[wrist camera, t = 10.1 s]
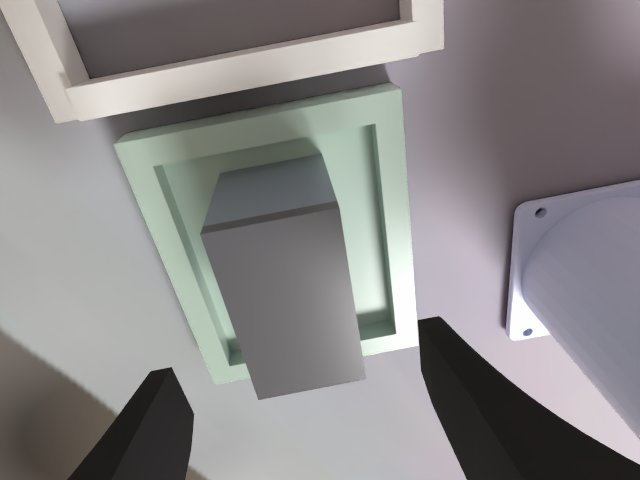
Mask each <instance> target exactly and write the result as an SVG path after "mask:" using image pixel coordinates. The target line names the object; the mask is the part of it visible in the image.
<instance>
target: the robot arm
mask: <svg viewBox="0 0 640 480" xmlns="http://www.w3.org/2000/svg"><path fill="white" fill-rule="evenodd" d="M539 208H542V209H541V211H540V212H539V213H538V214H535V213H536V211H537V210H538V209H539ZM418 329H419V345H420V360H421V372H422V375H423V378H424V381H425V384H426V387H427V390H428V393H429V396H430V399H431V402H432V404H433V407H434V409H435V411H436V413H437V416H438V418H439V420H440V422H441V424H442V426H443V429H444V431H445V433H446V435H447V437H448V440H449V442H450V444H451V446H452V448H453V450H454V453H455V455H456V457H457V459H458V461H459V463H460V466H461V468H462V470H463V472H464V474H465V476H466V479H467V480H640V465H639V464H637V463H636V462H634V461H632V460H630V459H628V458H626V457H624V456H623V455H621V454H619V453H617V452H616V451H614V450H612V449H611V448H609V447H607V446H605V445H604V444H602V443H600V442H599V441H597V440H595V439H593V438H592V437H590V436H588V435H586V434H585V433H583V432H582V431H580V430H578V429H577V428H575V427H574V426H572V425H571V424H569V423H568V422H566V421H565V420H563V419H561V418H560V417H558V416H557V415H555V414H554V413H553V412H551V411H550V410H548V409H547V408H545V407H544V406H542V405H541V404H540V403H538V402H537V401H536V400H534V399H533V398H531V397H530V396H529V395H527V394H526V393H525V392H524V391H522V390H521V389H520V388H518V387H517V386H516V385H515V384H513V383H512V382H511V381H510V380H508V379H507V378H506V377H505V376H503V375H502V374H501V373H500V372H499V371H497V370H496V369H495V368H494V367H493V366H492V365H491V364H489V363H488V362H487V361H486V360H485V359H484V358H483V357H481V356H480V355H479V354H478V353H477V352H476V351H475V350H474V349H473V348H472V347H471V346H469V345H468V344H467V343H466V342H465V341H464V340H463V339H462V338H461V337H460V336H459V335H458V334H457V333H456V332H455V331H454V330H453V329H452V328H451V327H450V326H449V325H448V324H447V323H446V322H445V321H444V320H443V319H442V318H441V317H439V316H437V317H432V318H427V319H422V320H418ZM526 329H527V330H526ZM524 330H525V331H524ZM506 334H507V336H508V337H509V338H510V339H511V340H513V341H518V340H523V339H528V338H533V337H539V336H544V335H549V334H551V335H552V336H553V337H554V339H555V340H556V341H557V342H558V343H559V345H560V346H561V347H562V348H563V349H564V350H565V352H566V353H567V354H568V355H569V356H570V358H571V359H572V360H573V361H574V362H575V364H576V365H577V366H578V367H579V368H580V369H581V371H582V372H583V373H584V374H585V375H586V377H587V378H588V379H589V380H590V381H591V382H592V384H593V385H594V386H595V387H596V388H597V390H598V391H599V392H600V393H601V394H602V396H603V397H604V398H605V399H606V400H607V401H608V403H609V404H610V405H611V406H612V407H613V409H614V410H615V411H616V412H617V413H618V415H619V416H620V417H621V418H622V419H623V420H624V422H625V423H626V424H627V425H628V426H629V428H630V429H631V430H632V431H633V432H634V433H635V435H636V436H637V437H638V438H639V439H640V180H636V181H631V182H626V183H620V184H615V185H610V186H605V187H600V188H594V189H589V190H584V191H579V192H574V193H569V194H563V195H558V196H553V197H548V198H543V199H538V200H532V201H527V202H524V203H522V204H520V205H519V206H518V207H517V209H516V210H515V214H514V227H513V240H512V254H511V267H510V281H509V294H508V307H507V321H506ZM193 421H194V413H193V411H192V409H191V407H190V404H189V402H188V400H187V398H186V396H185V394H184V392H183V390H182V388H181V386H180V384H179V382H178V380H177V378H176V375H175V373H174V371H173V369H172V367H171V368H165V369H160V370H155V371H151V372H150V373H149V374H148V376H147V377H146V378H145V380H144V381H143V382H142V384H141V385H140V387H139V388H138V389H137V391H136V392H135V393H134V395H133V396H132V397H131V399H130V400H129V402H128V403H127V404H126V406H125V407H124V408H123V410H122V411H121V412H120V414H119V415H118V417H117V418H116V419H115V421H114V422H113V423H112V425H111V426H110V427H109V428H108V430H107V431H106V432H105V434H104V435H103V436H102V438H101V439H100V440H99V442H98V443H97V444H96V445H95V447H94V448H93V449H92V450H91V451H90V453H89V454H88V455H87V456H86V458H85V459H84V460H83V461H82V463H81V464H80V465H79V466H78V467H77V469H76V470H75V471H74V472H73V474H72V475H71V476H70V477H69V478H68V480H185V477H186V472H187V467H188V462H189V457H190V452H191V445H192V434H193Z"/></svg>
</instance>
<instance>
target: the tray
mask: <svg viewBox="0 0 640 480" xmlns="http://www.w3.org/2000/svg"><path fill="white" fill-rule="evenodd" d="M113 145H114V148H115V150H116V152H117V155H118V157H119V159H120V162H121V164H122V167H123V169H124V171H125V174H126V176H127V178H128V181H129V183H130V186H131V188H132V190H133V193H134V195H135V197H136V200H137V202H138V204H139V207H140V209H141V212H142V214H143V216H144V219H145V221H146V223H147V226H148V228H149V230H150V233H151V235H152V238H153V240H154V242H155V245H156V247H157V249H158V252H159V254H160V257H161V259H162V261H163V264H164V266H165V268H166V271H167V273H168V275H169V278H170V280H171V283H172V285H173V287H174V290H175V292H176V294H177V297H178V299H179V301H180V304H181V306H182V309H183V311H184V313H185V316H186V318H187V320H188V323H189V325H190V328H191V330H192V332H193V335H194V337H195V339H196V342H197V344H198V346H199V349H200V351H201V354H202V356H203V358H204V361H205V363H206V365H207V368H208V370H209V372H210V375H211V377H212V380H213V382H214V384H215V385H217V384H222V383H227V382H232V381H238V380H243V379H248V378H251V377H250V374H249V372H248V369H247V366H246V363H245V360H244V357H243V355H242V352H241V349H240V346H239V343H238V341H237V338H236V335H235V332H234V329H233V326H232V324H231V321H230V318H229V315H228V312H227V309H226V307H225V304H224V301H223V298H222V295H221V292H220V290H219V287H218V284H217V281H216V278H215V276H214V273H213V270H212V267H211V264H210V261H209V259H208V256H207V253H206V250H205V247H204V244H203V242H202V239H201V236H200V233H201V230H202V227H203V224H204V221H205V218H206V215H207V211H208V208H209V205H210V202H211V199H212V196H213V193H214V190H215V187H216V184H217V181H218V177H219V174H220V173H223V172H228V171H233V170H238V169H244V168H249V167H254V166H259V165H265V164H270V163H275V162H280V161H285V160H291V159H296V158H301V157H306V156H311V155H317V154H322V155H323V158H324V162H325V165H326V168H327V171H328V174H329V177H330V180H331V183H332V186H333V189H334V192H335V195H336V198H337V202H338V205H339V208H340V214H341V220H342V227H343V233H344V239H345V246H346V252H347V259H348V265H349V271H350V278H351V284H352V291H353V297H354V303H355V310H356V316H357V323H358V329H359V335H360V342H361V348H362V354H363V356H367V355H372V354H377V353H382V352H387V351H392V350H398V349H403V348H408V347H413V346H418V334H417V318H416V303H415V288H414V273H413V257H412V242H411V227H410V211H409V196H408V181H407V166H406V150H405V135H404V120H403V105H402V89H401V88H399V87H398V86H396V85H395V84H393V83H392V82H388V83H383V84H378V85H373V86H367V87H362V88H357V89H352V90H347V91H341V92H336V93H331V94H326V95H321V96H315V97H310V98H305V99H300V100H295V101H290V102H284V103H279V104H274V105H269V106H264V107H258V108H253V109H248V110H243V111H238V112H232V113H227V114H222V115H217V116H212V117H206V118H201V119H196V120H191V121H186V122H180V123H175V124H170V125H165V126H160V127H154V128H149V129H144V130H139V131H134V132H128V133H126V134H125V135H124V136H122V137H121V138H120V139H119V140H118V141H117V142H115V143H114V144H113Z"/></svg>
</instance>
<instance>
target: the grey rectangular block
mask: <svg viewBox="0 0 640 480" xmlns="http://www.w3.org/2000/svg"><path fill="white" fill-rule="evenodd" d="M200 236H201V239H202V242H203V244H204V247H205V250H206V253H207V256H208V259H209V261H210V264H211V267H212V270H213V273H214V276H215V278H216V281H217V284H218V287H219V290H220V292H221V295H222V298H223V301H224V304H225V307H226V309H227V312H228V315H229V318H230V321H231V324H232V326H233V329H234V332H235V335H236V338H237V341H238V343H239V346H240V349H241V352H242V355H243V357H244V360H245V363H246V366H247V369H248V372H249V374H250V377H251V380H252V383H253V386H254V389H255V391H256V394H257V397H258V400H261V399H266V398H271V397H276V396H281V395H287V394H292V393H297V392H302V391H307V390H312V389H318V388H323V387H328V386H333V385H338V384H343V383H349V382H354V381H359V380H364V379H366V374H365V367H364V361H363V354H362V348H361V342H360V335H359V329H358V323H357V316H356V310H355V303H354V297H353V291H352V284H351V278H350V271H349V265H348V259H347V252H346V246H345V239H344V233H343V227H342V220H341V214H340V208H339V205H338V202H337V198H336V195H335V192H334V189H333V186H332V183H331V180H330V177H329V174H328V171H327V168H326V165H325V162H324V158H323V155H322V154H317V155H311V156H306V157H301V158H296V159H291V160H285V161H280V162H275V163H270V164H265V165H259V166H254V167H249V168H244V169H238V170H233V171H228V172H223V173H220V174H219V177H218V181H217V184H216V187H215V190H214V193H213V196H212V199H211V202H210V205H209V208H208V211H207V215H206V218H205V221H204V224H203V227H202V230H201V233H200Z"/></svg>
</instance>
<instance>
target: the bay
mask: <svg viewBox="0 0 640 480" xmlns="http://www.w3.org/2000/svg"><path fill="white" fill-rule="evenodd" d="M399 7H400V20H396V21H390V22H385V23H380V24H375V25H369V26H364V27H359V28H354V29H349V30H343V31H338V32H333V33H328V34H323V35H317V36H312V37H307V38H302V39H297V40H291V41H286V42H281V43H276V44H271V45H265V46H260V47H255V48H250V49H245V50H239V51H234V52H229V53H224V54H219V55H213V56H208V57H203V58H198V59H193V60H187V61H182V62H177V63H172V64H167V65H161V66H156V67H151V68H146V69H141V70H135V71H130V72H125V73H120V74H115V75H109V76H104V77H99V78H94V79H90V78H89V76H88V73H87V71H86V69H85V66H84V64H83V61H82V59H81V57H80V54H79V52H78V49H77V47H76V45H75V42H74V40H73V37H72V35H71V33H70V30H69V28H68V26H67V23H66V21H65V18H64V16H63V14H62V11H61V9H60V6H59V4H58V2H57V0H0V8H1V11H2V13H3V15H4V17H5V19H6V21H7V23H8V25H9V27H10V29H11V31H12V33H13V36H14V38H15V40H16V42H17V44H18V46H19V48H20V50H21V52H22V54H23V56H24V58H25V61H26V63H27V65H28V67H29V69H30V71H31V73H32V75H33V77H34V79H35V81H36V83H37V86H38V88H39V90H40V92H41V94H42V96H43V98H44V100H45V102H46V104H47V106H48V108H49V110H50V113H51V115H52V117H53V119H54V121H55V123H56V124H57V123H62V122H67V121H72V120H78V119H79V121H85V120H90V119H96V118H101V117H106V116H111V115H116V114H122V113H127V112H132V111H137V110H142V109H148V108H153V107H158V106H163V105H168V104H174V103H179V102H184V101H189V100H194V99H200V98H205V97H210V96H215V95H220V94H226V93H231V92H236V91H241V90H246V89H252V88H257V87H262V86H267V85H272V84H278V83H283V82H288V81H293V80H298V79H304V78H309V77H314V76H319V75H324V74H330V73H335V72H340V71H345V70H350V69H355V68H361V67H366V66H371V65H376V64H381V63H387V62H392V61H397V60H402V59H407V58H413V57H418V56H419V54H421V53H426V52H431V51H436V50H441V49H444V8H443V0H399Z"/></svg>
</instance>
